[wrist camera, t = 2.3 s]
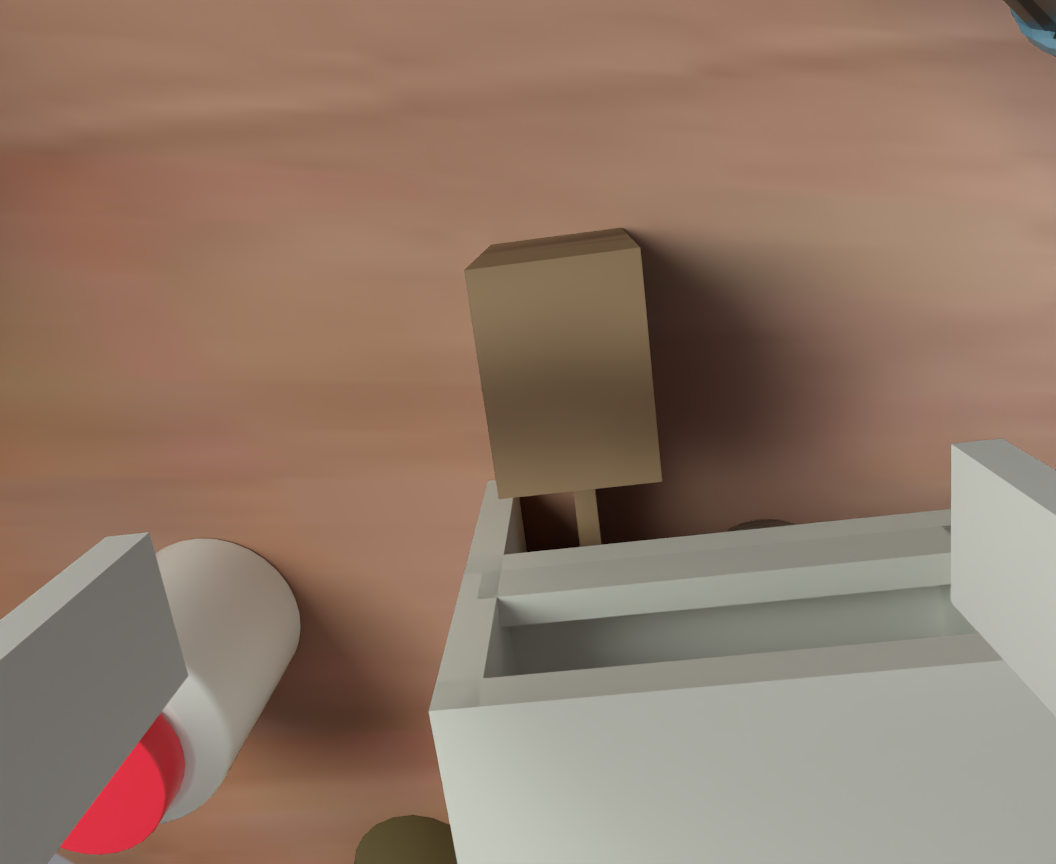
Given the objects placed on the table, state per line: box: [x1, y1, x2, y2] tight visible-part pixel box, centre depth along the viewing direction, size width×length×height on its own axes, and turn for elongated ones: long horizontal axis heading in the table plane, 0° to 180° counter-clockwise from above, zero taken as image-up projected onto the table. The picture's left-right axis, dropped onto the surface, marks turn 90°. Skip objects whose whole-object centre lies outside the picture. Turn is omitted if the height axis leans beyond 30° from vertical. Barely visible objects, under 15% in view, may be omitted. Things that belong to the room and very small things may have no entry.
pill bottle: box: [60, 538, 301, 855], centre depth 33 cm, size 8×8×11 cm
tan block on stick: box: [464, 228, 662, 547], centre depth 31 cm, size 19×5×9 cm, turn 7°
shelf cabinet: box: [429, 480, 1056, 864], centre depth 31 cm, size 22×16×16 cm
